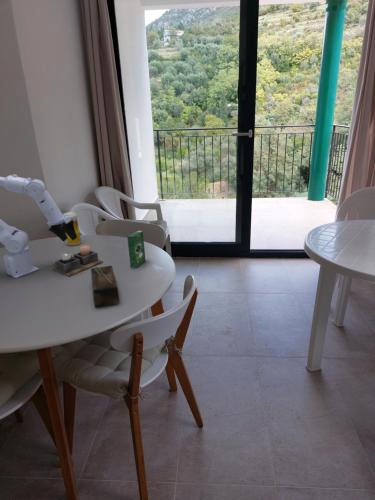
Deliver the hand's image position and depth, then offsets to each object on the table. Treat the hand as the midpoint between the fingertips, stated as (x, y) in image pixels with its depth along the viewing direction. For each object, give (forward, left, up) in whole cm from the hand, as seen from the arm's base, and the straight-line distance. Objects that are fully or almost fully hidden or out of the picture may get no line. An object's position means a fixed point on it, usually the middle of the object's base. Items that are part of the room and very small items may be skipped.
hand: (70, 239), depth 134 cm
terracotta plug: (+5, -2, -8) cm, 9 cm away
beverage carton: (-8, -29, -12) cm, 32 cm away
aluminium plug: (-4, -2, -8) cm, 9 cm away
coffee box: (+15, -21, -11) cm, 29 cm away
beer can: (+15, +23, -11) cm, 30 cm away
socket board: (0, -2, -11) cm, 11 cm away
